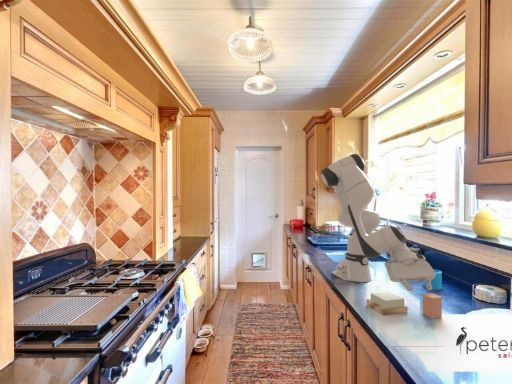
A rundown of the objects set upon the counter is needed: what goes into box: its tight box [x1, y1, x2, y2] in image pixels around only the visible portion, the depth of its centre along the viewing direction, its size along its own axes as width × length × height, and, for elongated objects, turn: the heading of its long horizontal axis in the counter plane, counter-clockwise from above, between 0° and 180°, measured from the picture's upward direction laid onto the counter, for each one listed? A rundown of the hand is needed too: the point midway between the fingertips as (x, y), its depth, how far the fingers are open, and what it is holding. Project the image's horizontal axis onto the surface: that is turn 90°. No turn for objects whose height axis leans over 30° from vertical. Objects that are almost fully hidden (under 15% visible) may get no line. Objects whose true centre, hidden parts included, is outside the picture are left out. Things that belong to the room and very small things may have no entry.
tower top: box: [370, 291, 405, 308], centre depth 122 cm, size 9×9×3 cm
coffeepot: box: [407, 243, 426, 257], centre depth 175 cm, size 15×9×18 cm, turn 90°
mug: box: [422, 269, 443, 291], centre depth 151 cm, size 12×8×8 cm
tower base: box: [366, 298, 409, 316], centre depth 123 cm, size 11×11×3 cm
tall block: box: [422, 292, 443, 320], centre depth 116 cm, size 4×4×8 cm
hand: (420, 289), depth 120 cm, fingers open, 8 cm apart
